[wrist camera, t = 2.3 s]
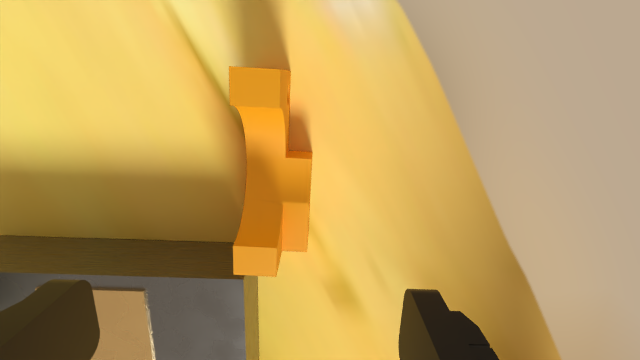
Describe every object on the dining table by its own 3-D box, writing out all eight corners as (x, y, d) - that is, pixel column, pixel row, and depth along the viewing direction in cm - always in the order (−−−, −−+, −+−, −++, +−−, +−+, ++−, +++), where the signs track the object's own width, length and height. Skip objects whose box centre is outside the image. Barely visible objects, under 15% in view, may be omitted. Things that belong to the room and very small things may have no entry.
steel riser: (256, 243, 27) (242, 281, 22) (259, 398, 32) (248, 459, 27) (1, 235, 27) (-72, 271, 22) (42, 393, 31) (-10, 452, 26)
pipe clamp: (308, 231, 27) (305, 278, 21) (253, 228, 27) (233, 274, 21) (316, 72, 23) (315, 71, 17) (253, 68, 23) (228, 66, 17)
